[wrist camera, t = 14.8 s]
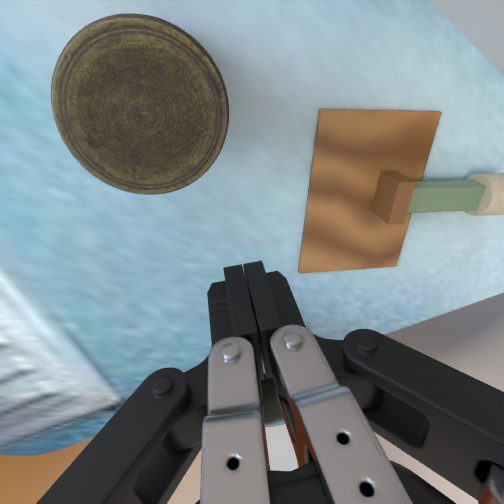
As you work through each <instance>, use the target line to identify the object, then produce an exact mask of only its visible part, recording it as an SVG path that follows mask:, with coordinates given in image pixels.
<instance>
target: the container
mask: <svg viewBox="0 0 504 504" xmlns="http://www.w3.org/2000/svg"><path fill="white" fill-rule="evenodd" d="M51 102H52V110H53V115H54V119H55V122H56V126H57V128H58V131H59V133H60V135H61V137H62V139H63V141H64V143H65V145H66V146H67V148H68V149H69V151H70V152H71V154H72V155H73V156H74V157H75V159H76V160H77V161H78V162H79V163H80V164H81V165H82V166H83V167H84V168H85V169H86V170H87V171H88V172H90V173H91V174H92V175H93V176H95V177H96V178H98V179H99V180H101V181H103V182H104V183H106V184H108V185H110V186H113V187H115V188H118V189H120V190H123V191H127V192H131V193H136V194H148V195H153V194H163V193H169V192H173V191H176V190H179V189H181V188H184V187H186V186H188V185H190V184H191V183H193V182H194V181H196V180H197V179H198V178H200V177H201V176H202V175H203V174H204V173H205V172H206V171H207V170H208V169H209V168H210V167H211V166H212V164H213V163H214V162H215V160H216V159H217V157H218V155H219V153H220V151H221V149H222V147H223V144H224V141H225V138H226V134H227V129H228V122H229V104H228V97H227V92H226V88H225V85H224V82H223V79H222V76H221V74H220V72H219V70H218V68H217V66H216V64H215V63H214V61H213V59H212V58H211V56H210V55H209V54H208V53H207V51H206V50H205V49H204V48H203V47H202V46H201V45H200V44H199V43H198V42H197V41H196V40H195V39H194V38H193V37H192V36H190V35H189V34H188V33H186V32H185V31H183V30H182V29H180V28H179V27H177V26H175V25H173V24H171V23H169V22H167V21H165V20H162V19H160V18H157V17H153V16H148V15H142V14H117V15H112V16H108V17H104V18H102V19H99V20H96V21H94V22H92V23H90V24H89V25H87V26H85V27H84V28H83V29H81V30H80V31H79V32H78V33H76V34H75V35H74V36H73V37H72V38H71V40H70V41H69V42H68V43H67V45H66V46H65V48H64V49H63V51H62V53H61V54H60V56H59V58H58V61H57V63H56V66H55V69H54V73H53V77H52V84H51Z"/></svg>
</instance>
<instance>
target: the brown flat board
mask: <svg viewBox="0 0 504 504" xmlns="http://www.w3.org/2000/svg"><path fill="white" fill-rule="evenodd" d="M440 116H441V112H440V111H404V110H353V109H319V115H318V122H317V130H316V138H315V145H314V153H313V160H312V168H311V176H310V183H309V191H308V199H307V206H306V214H305V221H304V229H303V237H302V244H301V252H300V260H299V267H298V272H299V273H309V272H323V271H337V270H351V269H365V268H379V267H393V266H396V265H397V261H398V258H399V255H400V251H401V248H402V244H403V241H404V238H405V234H406V231H407V227H408V224H409V221H410V217H411V214H412V213H407V214H406V217H405V221H404V224H394V225H388V224H386V223H385V222H384V221H383V220H382V219H380V218H379V217H378V216H377V215H376V214H375V213H373V212H372V211H371V210H372V206H373V202H374V197H375V193H376V189H377V184H378V180H379V176H380V172H381V171H397V172H399V173H400V174H402V175H404V176H406V177H407V178H409V179H411V180H413V181H421V180H422V177H423V173H424V170H425V166H426V163H427V160H428V156H429V153H430V150H431V146H432V143H433V139H434V136H435V133H436V129H437V126H438V122H439V119H440Z"/></svg>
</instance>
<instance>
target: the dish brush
mask: <svg viewBox="0 0 504 504" xmlns="http://www.w3.org/2000/svg"><path fill="white" fill-rule="evenodd" d="M371 211H372V212H373V213H375V214H376V215H377V216H378V217H379V218H380V219H382V220H383V221H384V222H385V223H386V224H388V225H394V224H404V221H405V217H406V214H407V213H418V212H443V211H465V212H466V213H467V214H469V215H472V216H479V215H502V214H504V173H487V174H473V175H471V176H469V177H468V178H467V179H466V180H443V181H413V180H411V179H409V178H407V177H406V176H404V175H402V174H400V173H399V172H397V171H381V172H380V176H379V180H378V184H377V189H376V193H375V197H374V202H373V206H372V210H371Z"/></svg>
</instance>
